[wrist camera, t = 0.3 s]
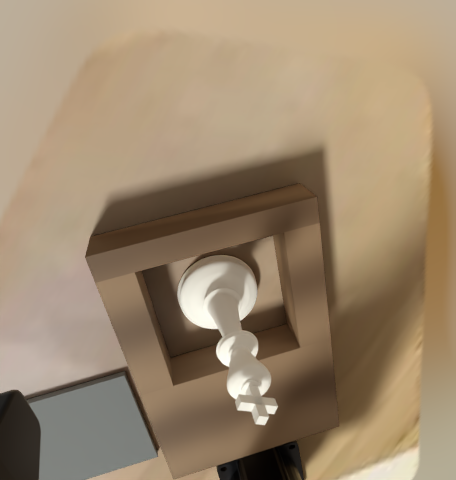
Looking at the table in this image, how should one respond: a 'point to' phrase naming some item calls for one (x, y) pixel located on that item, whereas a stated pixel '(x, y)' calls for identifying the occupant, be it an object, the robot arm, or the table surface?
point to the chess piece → (229, 326)
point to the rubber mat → (91, 429)
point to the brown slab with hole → (205, 360)
